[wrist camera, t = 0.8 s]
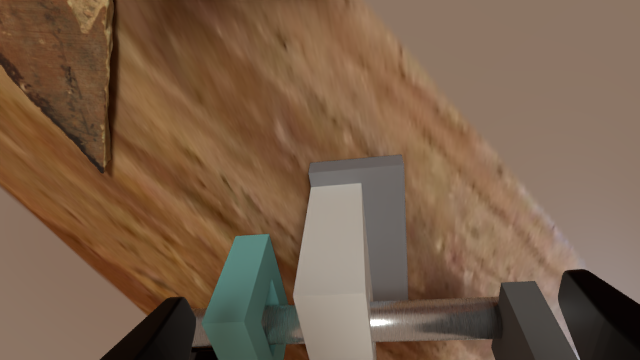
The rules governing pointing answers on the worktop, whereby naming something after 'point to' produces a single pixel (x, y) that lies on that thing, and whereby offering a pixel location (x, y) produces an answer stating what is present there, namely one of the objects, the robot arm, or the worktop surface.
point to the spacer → (245, 301)
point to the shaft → (444, 323)
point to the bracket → (350, 254)
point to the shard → (63, 65)
